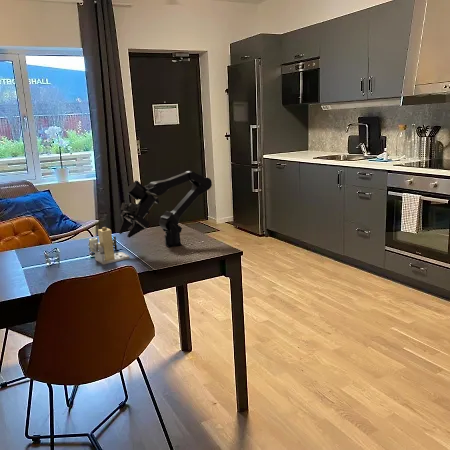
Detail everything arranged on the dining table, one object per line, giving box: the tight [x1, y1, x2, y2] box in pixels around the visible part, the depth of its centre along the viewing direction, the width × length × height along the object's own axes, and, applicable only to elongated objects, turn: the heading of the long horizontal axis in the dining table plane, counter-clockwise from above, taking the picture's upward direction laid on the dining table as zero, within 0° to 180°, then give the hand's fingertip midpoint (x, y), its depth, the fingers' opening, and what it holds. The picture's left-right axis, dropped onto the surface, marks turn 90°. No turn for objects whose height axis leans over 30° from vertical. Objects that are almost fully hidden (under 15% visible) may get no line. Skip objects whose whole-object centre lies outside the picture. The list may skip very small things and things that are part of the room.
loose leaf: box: [97, 226, 115, 260], centre depth 203 cm, size 4×5×14 cm
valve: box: [88, 235, 118, 252], centre depth 218 cm, size 7×7×12 cm
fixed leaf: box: [93, 242, 130, 266], centre depth 204 cm, size 12×9×8 cm
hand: (123, 235), depth 207 cm, fingers open, 9 cm apart
